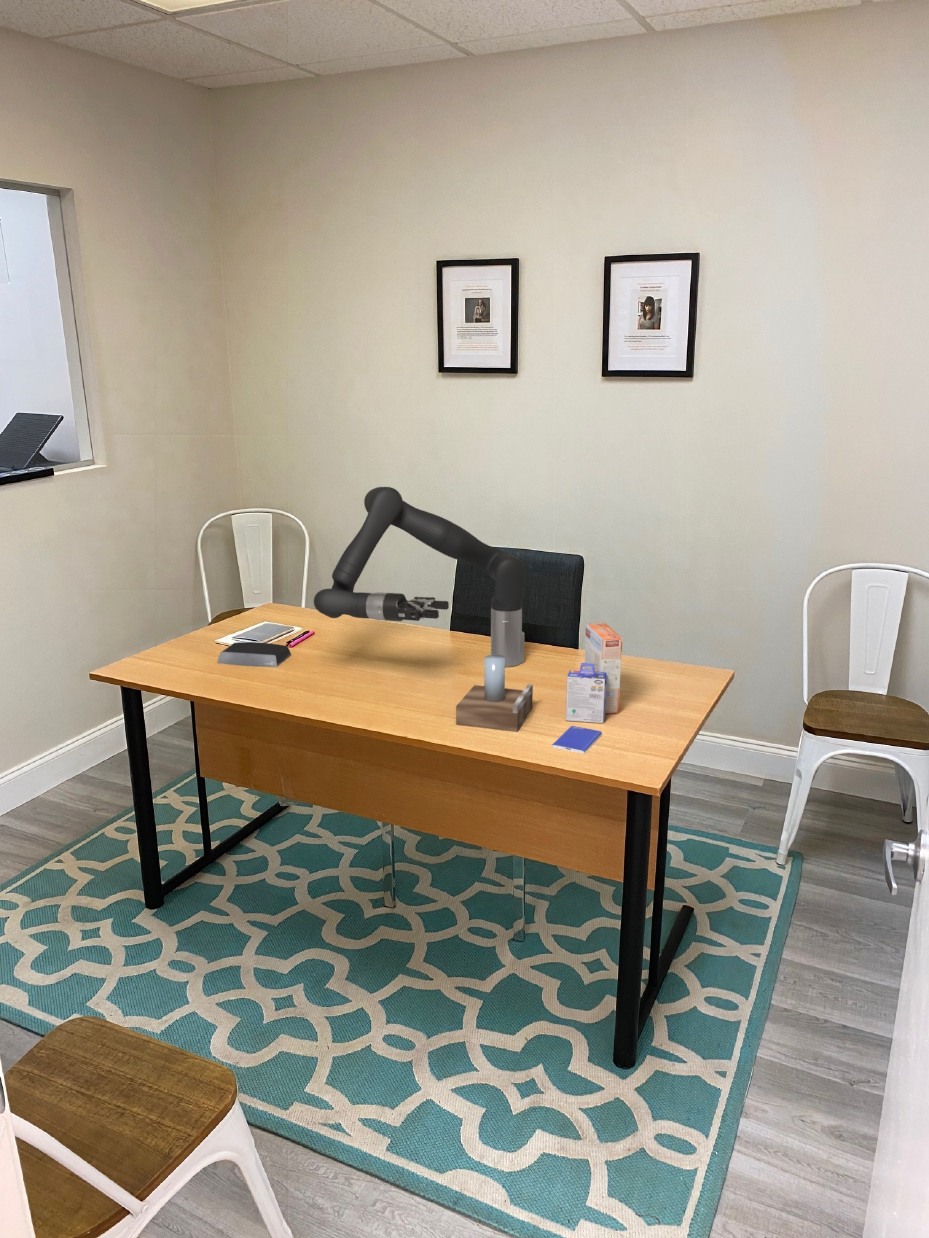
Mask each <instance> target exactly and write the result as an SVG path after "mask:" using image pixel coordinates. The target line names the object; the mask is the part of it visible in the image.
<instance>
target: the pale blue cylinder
mask: <svg viewBox="0 0 929 1238" xmlns="http://www.w3.org/2000/svg"><path fill="white" fill-rule="evenodd" d="M483 666H484V670H483V672H484V675H483V676H484V677H483V678H484V681H483V684H484V685H483V686H484V699H485V700H486V701H489V702H500V701H503V700H504V699H505V687H506V684H505V683H506V676H505V675H506V667H505V657H504V656H501V655H491V654H490V655H489V654H488V655H486V656H484V665H483Z"/></svg>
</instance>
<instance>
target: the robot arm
mask: <svg viewBox="0 0 929 1238" xmlns="http://www.w3.org/2000/svg"><path fill="white" fill-rule="evenodd" d="M363 502H364V503H363V504H364V508H365V510H366V512H367V514H366V517H365V520H364V522H363V524H362V526H361V528H360V529H359V531H358V532H357V533H356V535H355V536H354V538H353V539H352V540H351V541H350V543H349V544H348V546H347V547H346V548H345V550H344V551H343V553H342V555H341V557H340V558H339V560H338V561H337V563H336V566H335V568H334V569H333V571H332V575H331V577H332V580H333V583H332V586H331V588H323V589H321V590H319V591H317V593H316V594H315V595H314V598H313V606H314V607H315V609H316V610H317V612H318V613H320V614H322V615H324V616H325V617H328V618H331V619H337V618H340V617H342V616H343V615H347V616H350V617H353V618H357V619H371V620H375V621H376V620H377V621H389V622H402V621H412V622H413V621H415V622H418V621H421V620H424V619H434V620H435V619H436V620H437V619H439V617H440V611H439V610H444V611H445V610H448V609H449V607H450V606H449V605H450V604H449V601H447V600H436V598H435V597H433V596H432V597H431V596H427V597H426V596H414V597H413V598H412V599H410V600H407V598H406V596H405V594H403V593H400V592H399V593H398V592H378V591H377V592H355V591H354V589H355V585H356V584H357V582H358V580H359V579H360V576H361V574H362V573H363V571H364V569H365V567H366V565H367V564H368V561H369V559H370V557H371V556H372V554H373V552H374V551H375V549H376V547H377V545H378V543H380V540H382V539H381V538H382V537H383V536H384V534H385V533H386V531H387V530H388V528H390V526H394V527H396V528H397V529H400V530H402V531H403V532H406V533H408V534H409V535H410V536H411V537H412V538H413V537H414V538H415V539H416V540H418V541H419V542H421V543H422V544H424V545H426V546H428V547H430V548H431V549H433V550H435V551H436V552H438V553H440V554H442V555H444V556H447V557H449V558H451V559H454V560H457V561H460V562H463V563H467V564H469V565H472V566H473V567H476V568H477V569H478V570H480V571H482V572H483V573H484V574H486V575H487V576H488V577H490V578H491V579H492V580H493V581H494V595H493V597H492V598H491V600H490V602H491V603H490V655H501V656H504V657H505V668H506V667H507V668H508V667H509V668H510V667H516V666H519V665H521V664H522V663H525V632H524V631H522V629H523V626H522V625H523V601H524V600H525V594H526V592H525V591H526V568H525V565H524V563H523V562H522V560H520V559H519V558H518V557H516V556H515V555H513V554H511V553H509V552H507V551H504V550H500V549H498V548H495V547H494V546H491V545H489V544H487V543H484V542H482V541H481V540H479V539H478V538H477V537H476V536H474V535H473V534H472V533H471V532H469V531H467V530H466V529H465V528H463V527H461V526H459V525H457V524H456V523H454V522H452V521H451V520H449V519H446V518H444V517H442V516H441V515H438V514H434V513H432V512H429V511H425V510H422V509H420V508H417V507H415V506H412V505H411V504H409V503H408V502H406V501H405V500H403V497H402V494H401V493H400V492H399V490H397V489H396V488H394V487H392V486H391V487H390V486H378V487H374V488H372V489H370V490H369V491H368V492H367V493H366V495H364V499H363Z"/></svg>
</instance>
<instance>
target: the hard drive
mask: <svg viewBox="0 0 929 1238" xmlns="http://www.w3.org/2000/svg"><path fill="white" fill-rule="evenodd" d="M602 736H603V734H602V731H601V730H597V729H591V728H586V727H580V726H575V725H570V726H569V727H568V729H566V730H565V732H563V733H562V734H561V735H560V736H559V737H558V738H557V739H556V740H555V741H554V742H553V743H552V744H551V748H554V749H557V748H558V749H559V750H562V749H563V751H567V750H568V751H567V752H573V753H577V752H579V753H578V754H582V753H585V752H586V751H587V752H588V750H589V749H591V748H592V746H593V745H594V744H595V743H596V742H597V741H598V740H599V739H600V738H601V737H602ZM599 737H600V738H599ZM558 749H557V750H558ZM587 752H586V753H587ZM586 753H585V754H586Z"/></svg>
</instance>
